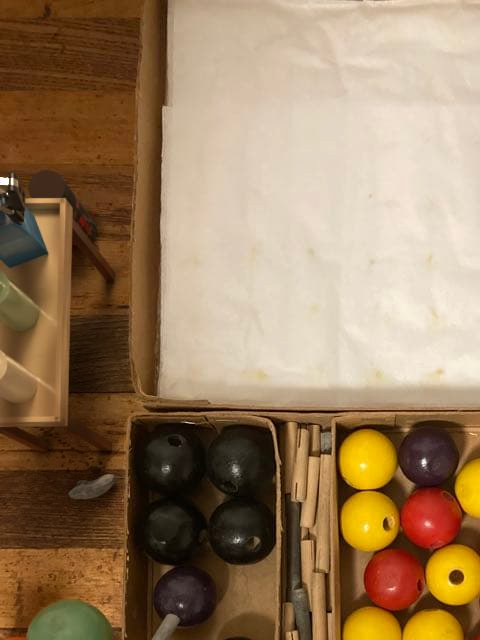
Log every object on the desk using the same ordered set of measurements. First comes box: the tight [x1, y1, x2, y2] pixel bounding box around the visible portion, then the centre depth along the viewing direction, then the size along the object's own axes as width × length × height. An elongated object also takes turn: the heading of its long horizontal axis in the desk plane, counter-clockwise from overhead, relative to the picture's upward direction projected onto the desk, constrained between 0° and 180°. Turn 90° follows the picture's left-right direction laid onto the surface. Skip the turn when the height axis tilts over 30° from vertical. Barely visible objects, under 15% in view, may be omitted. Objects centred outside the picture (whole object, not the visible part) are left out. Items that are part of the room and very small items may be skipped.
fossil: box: [68, 473, 117, 500], centre depth 144 cm, size 8×4×5 cm, turn 112°
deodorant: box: [27, 169, 98, 247], centre depth 143 cm, size 6×6×15 cm
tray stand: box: [0, 197, 116, 453], centre depth 136 cm, size 14×34×25 cm, turn 1°
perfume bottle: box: [0, 197, 48, 268], centre depth 121 cm, size 6×6×12 cm
